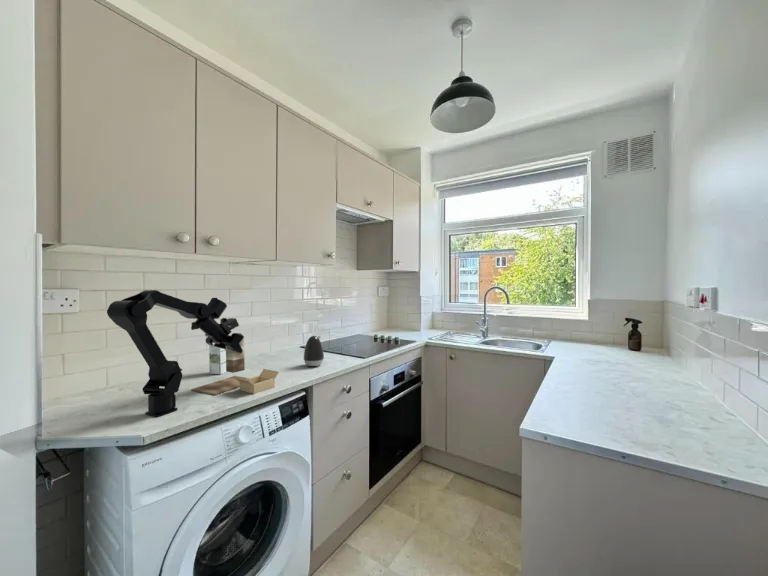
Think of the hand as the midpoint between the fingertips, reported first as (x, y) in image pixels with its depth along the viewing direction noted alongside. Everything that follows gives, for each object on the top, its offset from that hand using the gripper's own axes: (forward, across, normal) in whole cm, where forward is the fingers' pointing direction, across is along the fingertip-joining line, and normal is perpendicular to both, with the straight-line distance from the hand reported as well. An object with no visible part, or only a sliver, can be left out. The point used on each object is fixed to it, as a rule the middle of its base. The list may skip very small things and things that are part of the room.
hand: (238, 351), depth 131 cm
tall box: (+4, 0, +6) cm, 8 cm away
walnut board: (+7, +2, +12) cm, 14 cm away
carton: (+10, -12, +9) cm, 18 cm away
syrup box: (+13, +24, +6) cm, 28 cm away
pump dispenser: (+37, -4, -18) cm, 41 cm away
